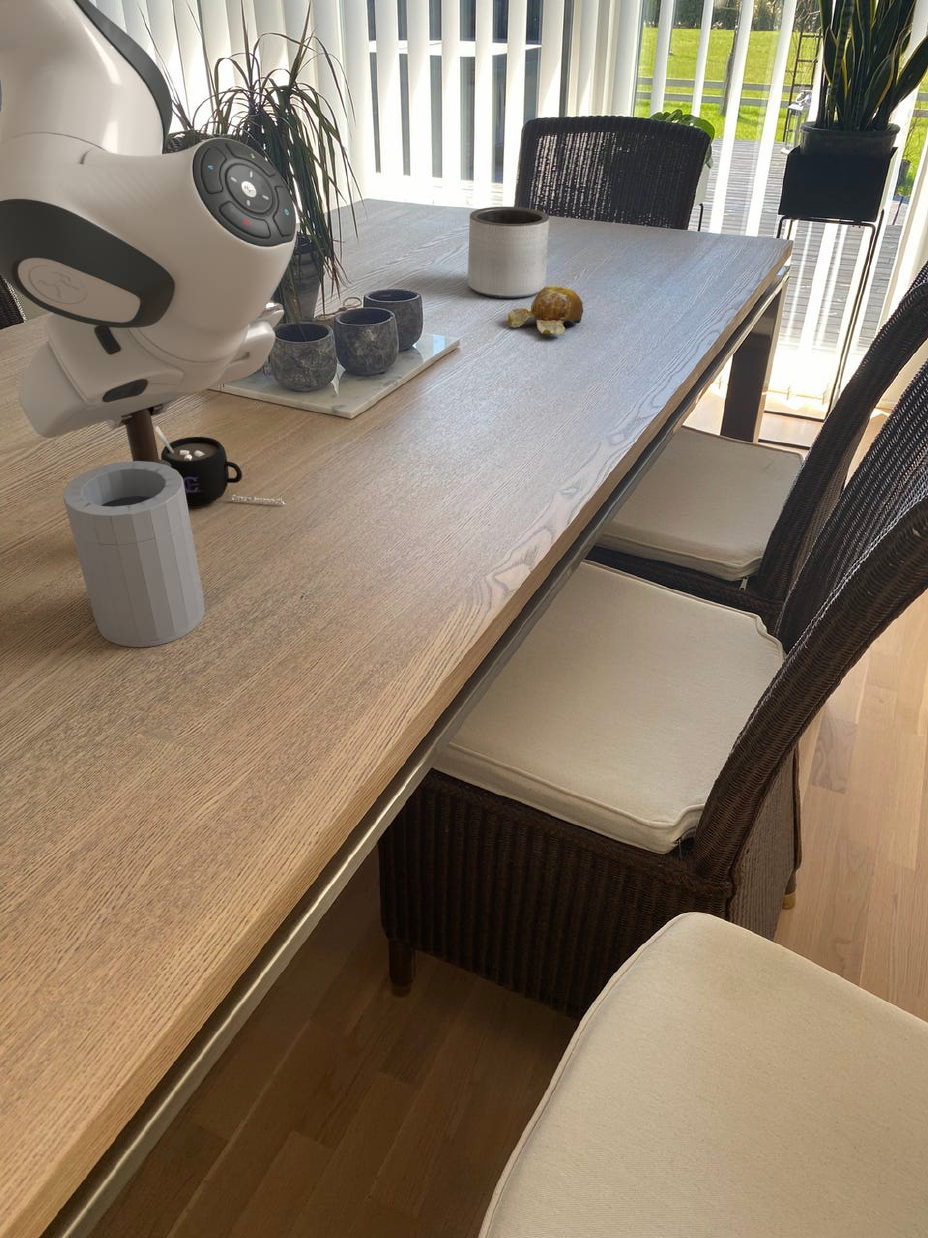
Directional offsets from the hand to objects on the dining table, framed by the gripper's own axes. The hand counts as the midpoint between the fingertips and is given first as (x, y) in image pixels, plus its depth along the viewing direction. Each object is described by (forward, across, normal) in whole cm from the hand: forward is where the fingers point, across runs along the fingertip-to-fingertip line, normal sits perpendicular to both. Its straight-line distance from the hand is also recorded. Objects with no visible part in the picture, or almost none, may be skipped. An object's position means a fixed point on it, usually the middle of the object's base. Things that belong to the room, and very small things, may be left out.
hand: (132, 413), depth 81 cm
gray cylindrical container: (+2, +7, +16) cm, 18 cm away
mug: (+11, -9, +8) cm, 16 cm away
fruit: (+19, -69, +2) cm, 72 cm away
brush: (+6, 0, +7) cm, 9 cm away
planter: (+31, -82, -12) cm, 88 cm away
